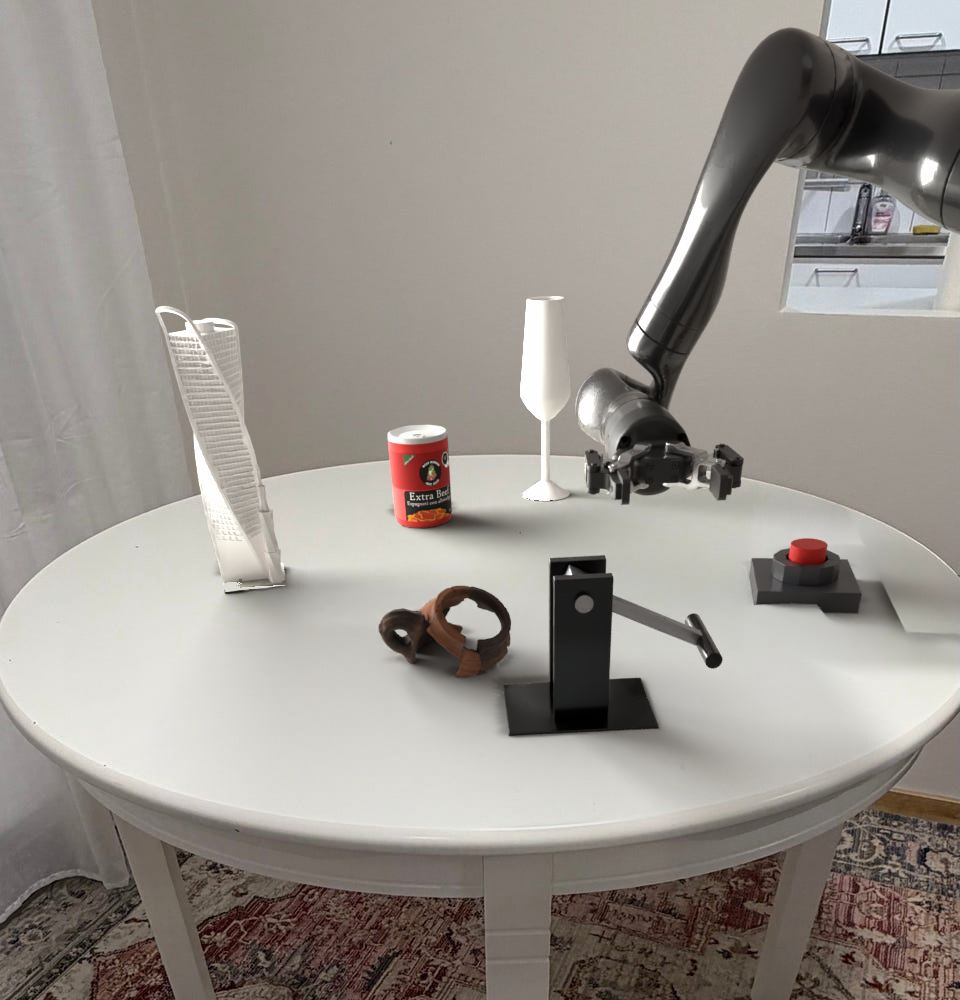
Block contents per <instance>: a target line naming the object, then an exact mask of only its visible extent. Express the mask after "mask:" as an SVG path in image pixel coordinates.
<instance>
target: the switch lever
mask: <svg viewBox="0 0 960 1000" xmlns="http://www.w3.org/2000/svg"><path fill="white" fill-rule="evenodd" d="M579 574H590V573H588V572H585V571H583V570H581V569H578V568H576V567H573V566H571V565H569V566H568V568H567V570H566V572H565V574H564V575H579ZM612 613H614V614H616V615H618V616H621V617H623V618H626V619H628V620H631V621H634V622H636V623H638V624H641V625H644V626H646V627H648V628H650V629H653V630H655V631H658V632H661V633H663V634H665V635H667V636H670V637H673V638H676V639H678V640H681V641H683V642H685V643H688V644H691V645H692V646H695V647H696V649H697V650H698V652H699V654H700V656H701V658H702V660H703V662H704V664H705V666H706V667H707V668H709V669H713V670H714V669H717V668H719V667H720V666H721V665H722V663H723V656H722V654H721V653H720V650H719V649H718V647H717V645H716V643H715V641H714V639H713V638H712V636H711V634H710V632H709V631H708V629H707V627H706V625H705V624H704V622H703V619H702V618H701V616H700V615H699V614H697V613H690V614H688V615H686V617H685V619H684V623H683V622H681V621H678V620H676V619H674V618H671V617H669V616H667V615H663V614H661V613H659V612H656V611H654V610H652V609H649V608H647V607H644V606H641V605H639V604H636V603H635V602H632V601H630V600H627V599H625V598H623V597H619V596H617V595H615V594H613V604H612Z"/></svg>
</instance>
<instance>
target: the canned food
mask: <svg viewBox="0 0 960 1000" xmlns="http://www.w3.org/2000/svg"><path fill="white" fill-rule="evenodd" d="M387 446H388V458H389V467H390V478H391V488H392V498H393V499H392V500H393V508H394V516H395V519H396V521H397V523H398V524H400V525H401V526H404V527H407V528H413V529H414V528H415V529H426V528H433V527H438V526H441V525H444V524H446V523H448V522H450V520H451V519H452V513H453V508H452V507H453V506H452V488H451V469H450V451H449V435H448V430H447V429H446V428H445V427H443V426H440V425H436V424H411V425H405V426H400V427H396V428H393V429H391V430H389V431H388V432H387Z"/></svg>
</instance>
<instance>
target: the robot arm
mask: <svg viewBox="0 0 960 1000" xmlns="http://www.w3.org/2000/svg"><path fill="white" fill-rule="evenodd" d="M774 163H775V164H779V165H782V166H785V167H787V168H792V169H797V170H801V171H812V172H817V173H823V174H829V175H833V176H839V177H842V178H846V179H851V180H854V181H859V182H863V183H866V184H869V185H872V186H875V187H877V188H879V189H881V190H882V191H884V192H886V193H888V194H889V195H890V196H891V197H893V198H894V199H896V201H898V202H899V203H901V204H902V205H903V206H904V207H906V208H907V209H908V210H910V211H912V212H913V213H915V214H916V215H918V216H920V218H923V219H924V220H926V221H928V222H930V223H932V224H934V225H936V226H938V227H940V228H942V229H943V230H947V231H949V232H951V233H955V234H957V235H958V236H959V235H960V88H949V89H934V88H926V87H925V88H924V87H921V86H916V85H914V84H912V83H911V84H910V83H909V82H906V81H904V80H901V79H899V78H897V77H895V76H894V75H891V74H888V73H887V72H884V71H882V70H880V69H878V68H876V67H874V66H873V65H870V64H869V63H867V62H866V61H864V60H862V59H860V58H858V57H857V56H856V55H854V54H853V53H851V52H850V51H848V50H847V49H845V48H842V47H841V46H839V45H837V44H835V43H833V42H831V41H829V40H827V39H825V38H823V37H820V36H818V35H816V34H814V33H812V32H810V31H807V30H805V29H803V28H798V27H791V26H789V27H784V28H780V29H777V30H775V31H773V32H771V33H770V34H768V35H767V36H766V37H765V38H763V40H761V41H760V42H759V43H758V45H756V47H755V48H754V49H753V50H752V51H751V53H750V55H749V56H748V57H747V60H745V63H744V65H743V66H742V68H741V71H740V72H739V75H738V76H737V79H736V80H735V83H734V85H733V87H732V89H731V92H730V95H729V98H728V100H727V103H726V105H725V107H724V110H723V113H722V116H721V118H720V121H719V124H718V127H717V129H716V132H715V135H714V137H713V140H712V143H711V146H710V148H709V151H708V154H707V156H706V158H705V161H704V164H703V167H702V168H701V172H700V175H699V177H698V180H697V183H696V185H695V188H694V191H693V193H692V196H691V199H690V201H689V204H688V207H687V210H686V212H685V215H684V218H683V221H682V222H681V226H680V228H679V230H678V233H677V235H676V238H675V240H674V242H673V245H672V246H671V249H670V251H669V252H668V253H669V254H668V255H667V258H666V260H665V262H664V264H663V266H662V268H661V270H660V272H659V274H658V276H657V278H656V280H655V281H654V282H653V283H654V284H653V285H652V287H651V289H650V290H649V293H648V294H647V296H646V299H645V300H644V302H643V304H642V305H641V308H640V310H639V311H638V313H637V316H636V317H635V319H634V321H633V322H632V325H631V327H630V329H629V331H628V333H627V336H626V341H625V344H626V350H627V352H628V353H629V355H630V356H631V357H632V358H633V359H634V360H635V362H637V363H638V364H639V365H640V366H641V367H642V368H644V370H645V371H647V372H648V373H649V375H650V376H651V378H652V381H651V383H650V384H649V385H647V384H645V383H643V382H641V381H640V380H637V379H636V378H633V377H631V376H630V375H627V374H625V373H624V372H622V371H619V370H617V369H615V368H611V367H600V368H598V369H596V370H594V371H592V372H591V373H589V375H588V376H586V378H585V379H584V380H583V382H582V383H581V385H580V387H579V389H578V392H577V395H576V399H575V406H574V412H575V419H576V422H577V425H578V426H579V429H581V431H582V432H583V433H584V434H586V435H587V436H589V437H590V438H591V439H593V440H594V441H595V442H597V443H598V444H600V445H601V446H603V447H604V449H605V455H606V458H605V457H604V454H603V453H599V451H598V450H596V449H593V448H591V449H588V450H584V467H583V468H584V471H583V480H584V484H585V490H586V493H587V494H589V495H593V496H595V495H597V494H600V493H601V490H606V494H607V495H608V496H611V499H613V500H615V501H618V503H619V504H620V505H621V506H625V505H626V506H627V505H630V501H631V499H630V498H631V494H636V495H640V496H648V497H650V496H656V495H660V494H663V493H665V492H667V491H669V490H670V489H672V488H680V489H684V490H689V491H692V492H694V491H698V490H701V489H705V490H708V491H709V493H711V495H712V496H713V497H714V499H715V500H716V501H726V500H727V496H731V495H732V493H733V492H732V491H733V489H737V488H741V486H742V472H743V467H744V466H743V465H744V463H745V462H744V461H745V458H744V457H743V456H742V455H741V454H739V453H738V452H737V451H736V450H735V449H733V448H732V447H730V446H729V445H728V444H725V443H719V444H716V445H715V446H714V449H713V453H709V452H708V451H707V449H702V448H697V447H692V445H691V442H690V439H689V437H688V434H687V432H686V430H685V429H684V427H683V426H682V425H681V424H680V423H679V421H678V420H677V419H676V417H674V416H673V414H672V413H671V412H670V411H669V410H670V406H671V402H672V399H673V395H674V393H675V390H676V387H677V384H678V381H679V379H680V376H681V374H682V371H683V369H684V366H686V363H687V361H688V359H689V358H690V355H691V353H692V352H693V350H694V349H695V347H696V345H697V343H698V342H699V340H700V339H701V336H702V335H703V333H704V331H705V330H706V328H707V327H708V325H709V323H710V321H711V320H712V318H713V316H714V314H715V313H716V310H717V308H718V305H719V303H720V301H721V298H722V295H723V292H724V288H725V286H726V283H727V282H726V281H727V277H728V273H729V267H730V263H731V257H732V252H733V247H734V243H735V238H736V234H737V231H738V228H739V225H740V222H741V219H742V217H743V214H744V212H745V209H746V207H747V206H748V204H749V201H750V200H751V198H752V196H753V195H754V192H755V190H756V189H757V187H758V186H759V184H760V183H761V181H762V180H763V178H764V177H765V175H766V174H767V173H768V172H769V170H770V168H771V167H772V166H773V164H774ZM708 469H710V477H709V478H707V472H708V471H707V470H708ZM690 477H691V479H690ZM688 478H689V479H688Z"/></svg>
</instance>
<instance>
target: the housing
mask: <svg viewBox="0 0 960 1000" xmlns="http://www.w3.org/2000/svg"><path fill="white" fill-rule="evenodd" d="M789 551H790V547H789V548H783V549H780V550H778V551H776V552H775V553H773V555H772V557H752V558H751V561H750V567H749V568H750V569H749V575H748V576H749V577H748V578H749V583H750V589H751V597H752V602H753V605H754V606H762V605H763V606H764V605H782V604H783V605H784V604H785V605H789V604H790V605H816V606H817V607H818V608H819V610H820V611H821V612H822V613H823V614H859V611H860V605H861V601H862V596H863V593H862V590H861V588H860V585H859V583H858V581H857V579H856V576H855V573H854V571H853V568H852V565H851V564H850V561H849V559H848V558H841V557H840V555H839V554H837V553H836V552H833V551H831V550H829V549H827V552H826V558H825V562H824V563H821V564H816V565H812V564H799V563H794V562H791V561H789V560H788V558H789Z"/></svg>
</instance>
